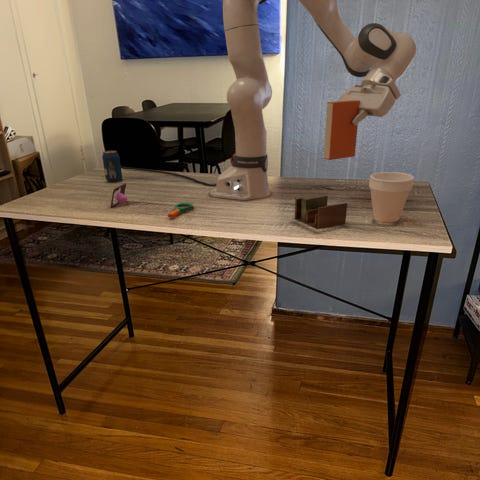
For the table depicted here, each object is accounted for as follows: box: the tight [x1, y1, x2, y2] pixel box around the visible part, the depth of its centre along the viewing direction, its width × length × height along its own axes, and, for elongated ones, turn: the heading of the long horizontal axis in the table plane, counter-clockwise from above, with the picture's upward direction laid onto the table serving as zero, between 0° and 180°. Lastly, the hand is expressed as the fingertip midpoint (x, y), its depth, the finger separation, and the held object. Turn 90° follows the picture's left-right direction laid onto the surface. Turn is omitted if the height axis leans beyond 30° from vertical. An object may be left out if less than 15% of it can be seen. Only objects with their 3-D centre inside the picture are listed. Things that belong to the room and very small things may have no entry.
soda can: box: [101, 150, 123, 184], centre depth 192 cm, size 7×7×12 cm
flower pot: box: [368, 171, 415, 223], centre depth 135 cm, size 12×12×14 cm
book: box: [323, 100, 360, 161], centre depth 139 cm, size 3×10×16 cm, turn 119°
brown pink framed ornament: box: [110, 183, 130, 208], centre depth 161 cm, size 7×5×9 cm
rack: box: [293, 193, 348, 230], centre depth 136 cm, size 12×11×8 cm
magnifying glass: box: [167, 202, 194, 219], centre depth 151 cm, size 15×6×2 cm, turn 164°
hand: (348, 123), depth 139 cm, fingers closed on book, 3 cm apart
